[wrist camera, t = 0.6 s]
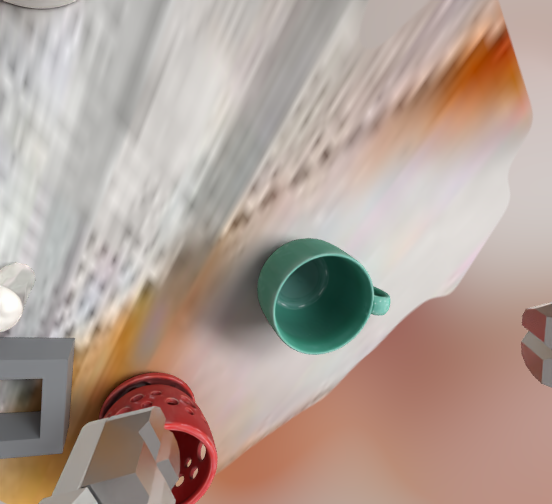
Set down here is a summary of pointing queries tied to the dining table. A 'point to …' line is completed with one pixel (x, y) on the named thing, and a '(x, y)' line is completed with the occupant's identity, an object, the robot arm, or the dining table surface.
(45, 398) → the socket collar
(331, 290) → the mug
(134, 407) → the plant pot
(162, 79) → the dining table surface
